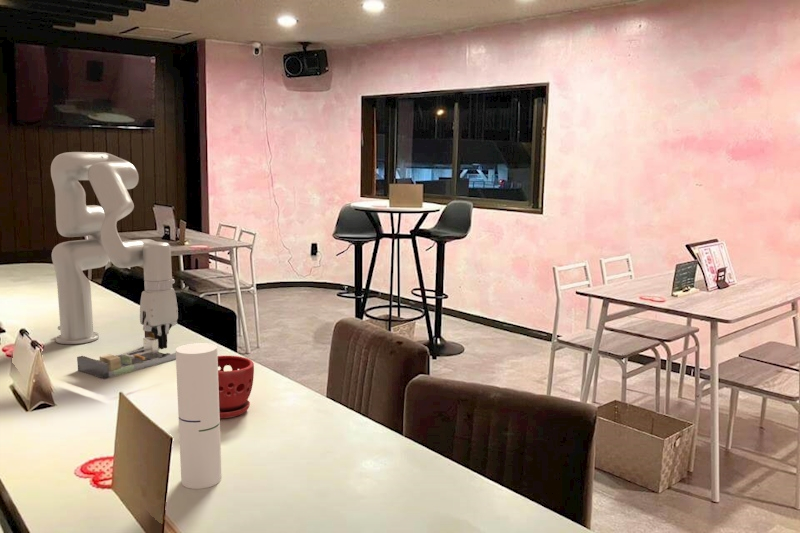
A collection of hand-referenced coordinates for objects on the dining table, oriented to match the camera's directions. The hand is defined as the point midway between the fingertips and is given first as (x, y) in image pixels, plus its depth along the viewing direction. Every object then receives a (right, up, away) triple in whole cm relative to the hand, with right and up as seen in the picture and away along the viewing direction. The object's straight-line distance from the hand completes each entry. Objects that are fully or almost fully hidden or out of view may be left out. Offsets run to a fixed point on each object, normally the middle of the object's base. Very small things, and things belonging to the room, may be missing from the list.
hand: (161, 347), depth 204 cm
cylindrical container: (+32, -16, -74) cm, 82 cm away
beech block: (-9, -4, -13) cm, 16 cm away
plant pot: (+29, -11, -40) cm, 50 cm away
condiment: (-6, -2, +11) cm, 13 cm away
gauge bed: (-6, -5, -8) cm, 11 cm away
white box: (-3, -3, -6) cm, 7 cm away
